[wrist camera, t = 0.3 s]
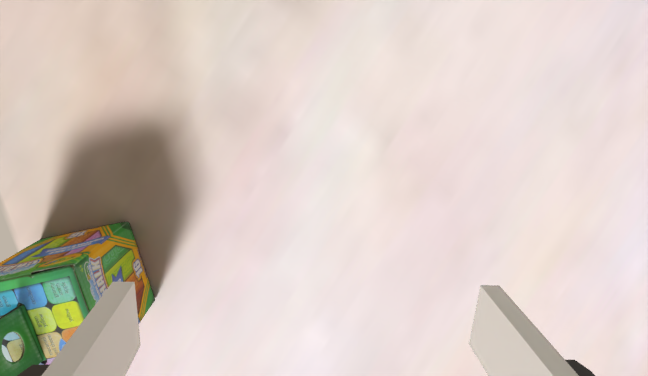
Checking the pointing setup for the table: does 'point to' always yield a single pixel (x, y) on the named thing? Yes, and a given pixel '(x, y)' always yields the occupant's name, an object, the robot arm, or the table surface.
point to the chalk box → (62, 290)
